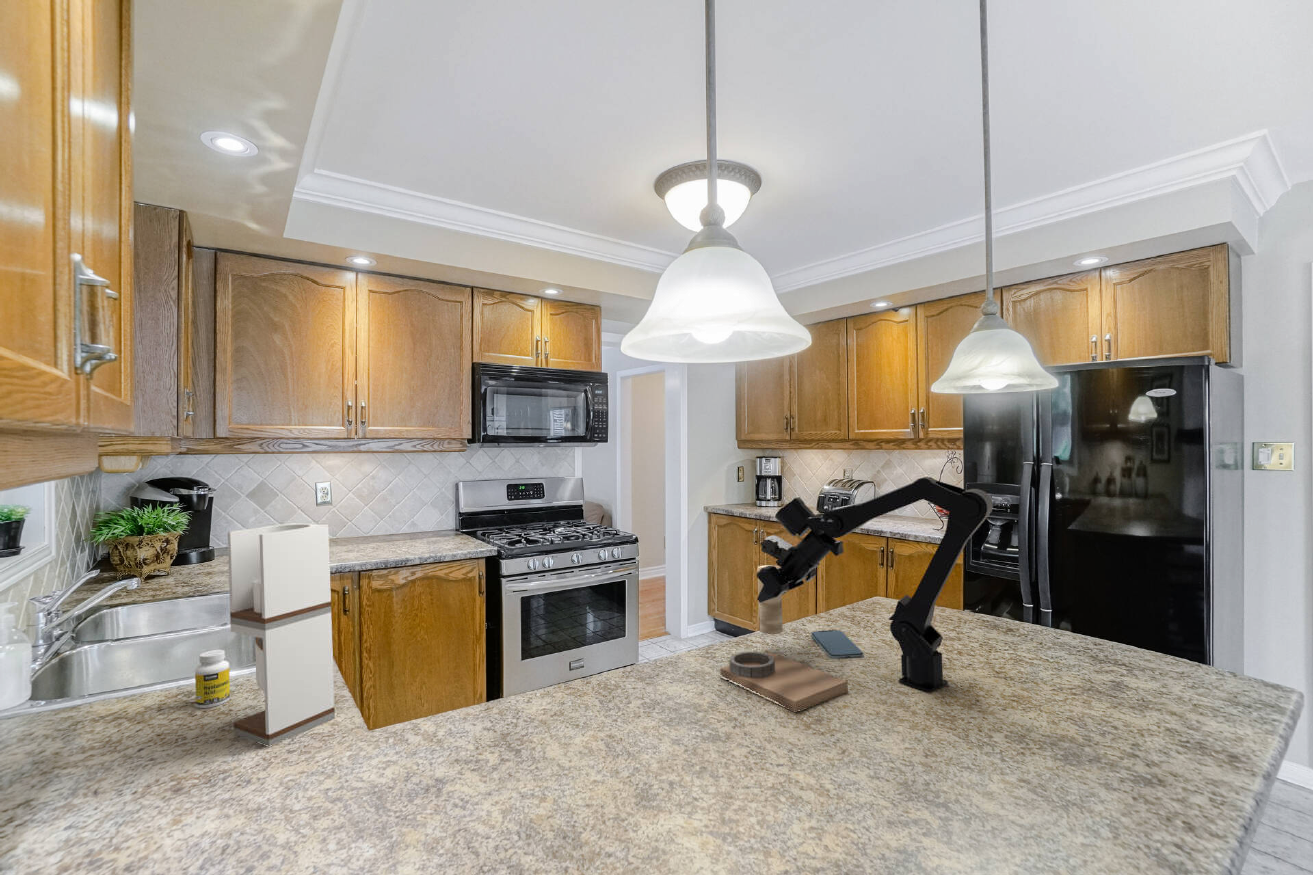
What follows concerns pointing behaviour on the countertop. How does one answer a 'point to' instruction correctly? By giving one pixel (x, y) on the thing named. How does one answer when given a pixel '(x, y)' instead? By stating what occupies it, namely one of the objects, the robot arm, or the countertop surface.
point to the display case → (284, 625)
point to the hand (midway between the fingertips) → (764, 597)
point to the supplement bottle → (212, 679)
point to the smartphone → (836, 644)
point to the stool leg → (770, 612)
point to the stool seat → (783, 679)
